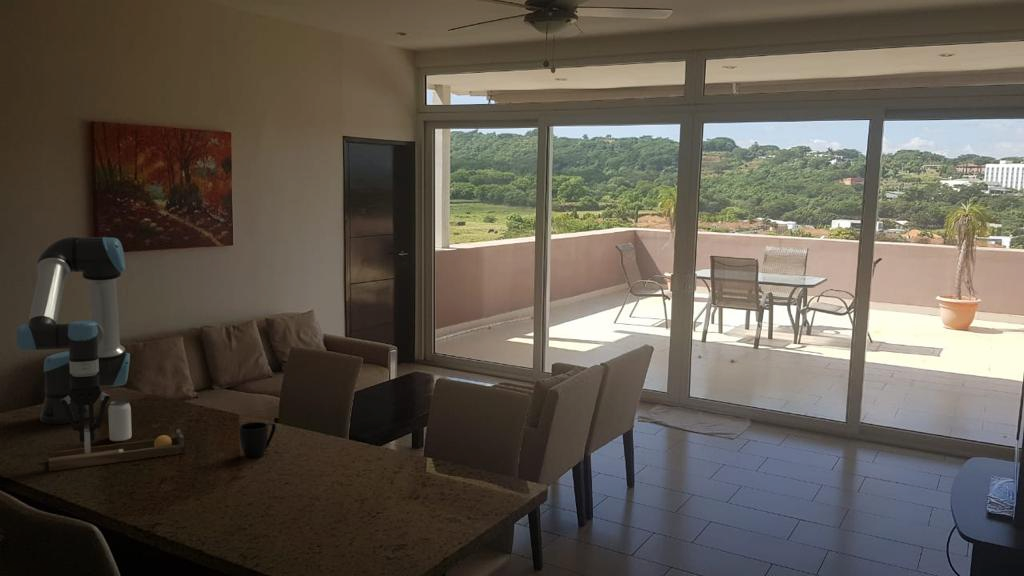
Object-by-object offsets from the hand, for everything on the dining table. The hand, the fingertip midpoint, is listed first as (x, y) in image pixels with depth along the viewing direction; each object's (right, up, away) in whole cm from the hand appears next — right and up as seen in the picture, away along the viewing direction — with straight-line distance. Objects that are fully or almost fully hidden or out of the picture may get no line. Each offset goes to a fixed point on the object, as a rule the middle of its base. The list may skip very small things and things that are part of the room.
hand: (87, 451), depth 232 cm
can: (-1, -1, +22) cm, 22 cm away
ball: (+18, +1, +9) cm, 20 cm away
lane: (+7, -2, +4) cm, 8 cm away
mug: (+48, -3, +10) cm, 49 cm away
